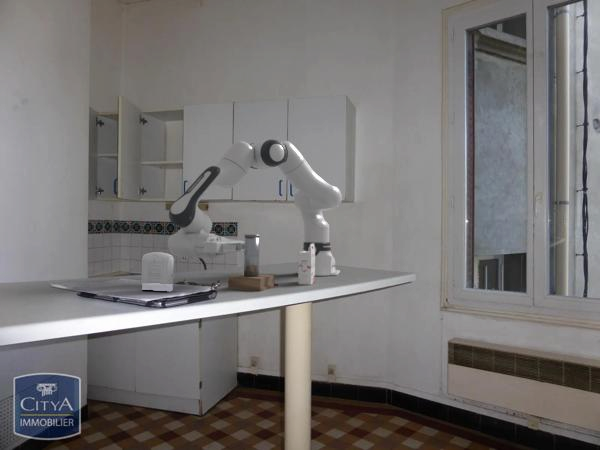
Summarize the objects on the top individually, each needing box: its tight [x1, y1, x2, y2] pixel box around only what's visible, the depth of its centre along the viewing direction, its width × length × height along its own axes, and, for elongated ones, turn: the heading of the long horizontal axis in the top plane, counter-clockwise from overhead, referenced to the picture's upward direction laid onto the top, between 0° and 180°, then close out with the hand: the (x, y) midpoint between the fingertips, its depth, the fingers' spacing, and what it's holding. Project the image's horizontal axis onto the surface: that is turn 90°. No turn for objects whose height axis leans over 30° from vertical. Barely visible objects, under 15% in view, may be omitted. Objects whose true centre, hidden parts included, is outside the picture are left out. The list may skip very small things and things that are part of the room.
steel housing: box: [243, 234, 261, 277], centre depth 145 cm, size 5×5×14 cm
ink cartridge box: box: [297, 244, 316, 286], centre depth 160 cm, size 9×5×15 cm, turn 168°
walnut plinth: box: [227, 273, 275, 292], centre depth 145 cm, size 10×12×4 cm
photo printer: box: [140, 251, 175, 285], centre depth 136 cm, size 10×4×12 cm, turn 78°
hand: (243, 247), depth 146 cm, fingers open, 8 cm apart
